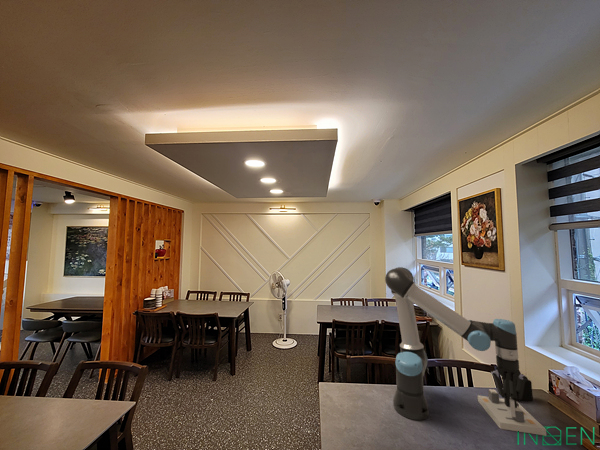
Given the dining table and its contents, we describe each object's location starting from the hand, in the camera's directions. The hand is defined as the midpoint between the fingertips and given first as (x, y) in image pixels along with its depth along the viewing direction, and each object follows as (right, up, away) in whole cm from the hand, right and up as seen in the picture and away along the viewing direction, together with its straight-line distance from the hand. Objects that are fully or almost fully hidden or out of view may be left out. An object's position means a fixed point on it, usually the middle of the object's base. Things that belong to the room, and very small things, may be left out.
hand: (511, 414), depth 102 cm
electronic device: (+19, -6, +18) cm, 27 cm away
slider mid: (+5, -2, +5) cm, 7 cm away
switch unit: (+3, -5, +5) cm, 8 cm away
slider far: (+2, -3, +12) cm, 12 cm away
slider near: (+2, -2, -1) cm, 3 cm away
